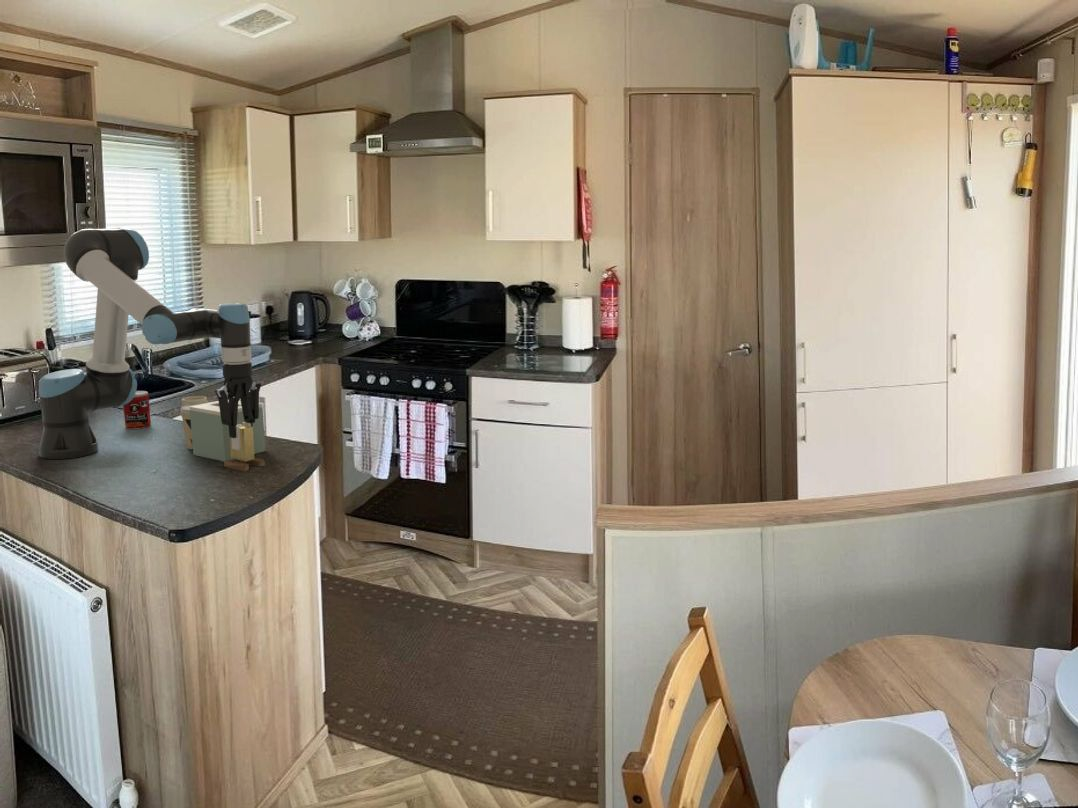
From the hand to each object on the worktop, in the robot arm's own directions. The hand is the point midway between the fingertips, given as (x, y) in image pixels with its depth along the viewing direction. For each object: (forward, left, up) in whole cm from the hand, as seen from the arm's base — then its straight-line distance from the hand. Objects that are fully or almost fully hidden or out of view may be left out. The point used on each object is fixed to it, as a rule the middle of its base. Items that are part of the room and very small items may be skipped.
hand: (242, 447), depth 248 cm
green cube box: (+7, +15, -5) cm, 17 cm away
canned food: (+13, +68, -5) cm, 69 cm away
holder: (0, 0, -5) cm, 5 cm away
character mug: (+11, +35, -5) cm, 37 cm away
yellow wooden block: (0, 0, -3) cm, 3 cm away
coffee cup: (+7, +28, -5) cm, 29 cm away
